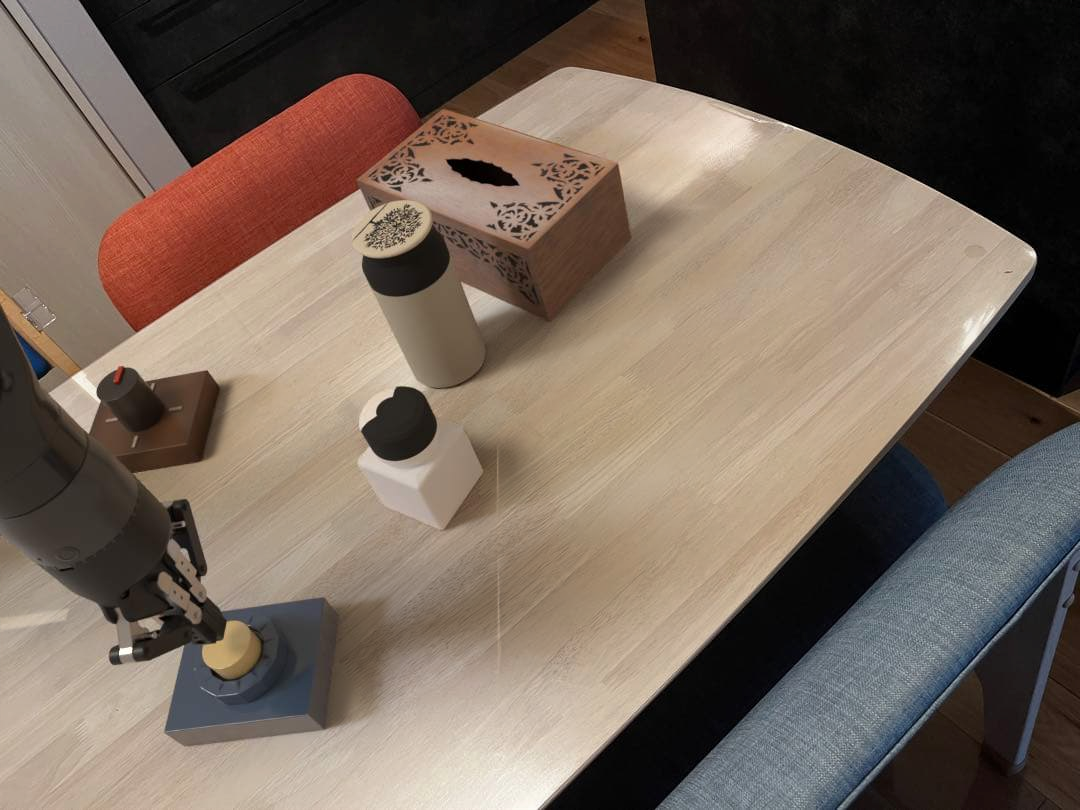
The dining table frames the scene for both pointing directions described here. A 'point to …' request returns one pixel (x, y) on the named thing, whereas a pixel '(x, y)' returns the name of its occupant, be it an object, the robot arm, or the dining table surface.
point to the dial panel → (164, 425)
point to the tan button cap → (233, 651)
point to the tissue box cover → (508, 207)
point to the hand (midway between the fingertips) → (213, 633)
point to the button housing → (260, 679)
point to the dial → (130, 399)
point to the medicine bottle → (416, 457)
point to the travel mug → (420, 292)
